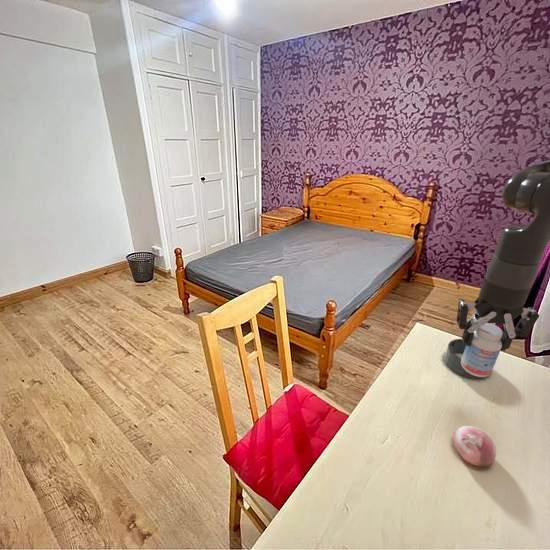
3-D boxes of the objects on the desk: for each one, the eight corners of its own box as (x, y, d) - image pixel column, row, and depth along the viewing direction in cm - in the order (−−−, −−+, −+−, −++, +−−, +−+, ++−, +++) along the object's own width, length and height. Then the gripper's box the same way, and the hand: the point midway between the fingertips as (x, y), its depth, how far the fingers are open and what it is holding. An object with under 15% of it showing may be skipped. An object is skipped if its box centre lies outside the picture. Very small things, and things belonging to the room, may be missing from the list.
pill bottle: (464, 375, 68) (478, 335, 63) (457, 357, 73) (469, 318, 68) (495, 380, 67) (512, 339, 62) (485, 360, 72) (500, 322, 67)
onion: (442, 449, 69) (450, 428, 66) (461, 431, 73) (469, 410, 69) (480, 480, 63) (490, 458, 60) (498, 459, 67) (509, 437, 63)
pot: (450, 349, 98) (455, 334, 95) (491, 366, 91) (497, 350, 88) (438, 367, 91) (442, 352, 88) (480, 387, 84) (487, 371, 81)
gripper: (542, 273, 61) (514, 340, 68) (462, 266, 64) (444, 330, 72) (562, 292, 54) (529, 363, 62) (472, 283, 58) (451, 351, 66)
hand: (483, 345), depth 67 cm, fingers closed on pill bottle, 6 cm apart
